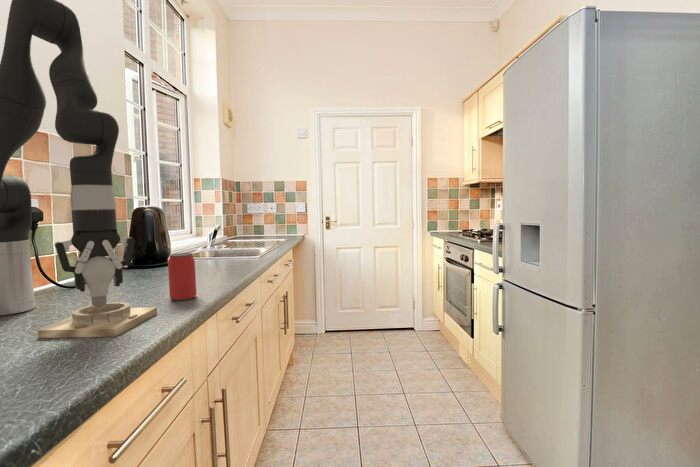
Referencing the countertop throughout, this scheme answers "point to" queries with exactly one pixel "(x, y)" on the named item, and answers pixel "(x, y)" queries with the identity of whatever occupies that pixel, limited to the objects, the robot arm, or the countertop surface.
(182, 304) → the countertop surface
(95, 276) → the lightbulb
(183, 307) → the countertop surface
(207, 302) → the countertop surface
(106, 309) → the lamp holder
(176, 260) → the beer can
